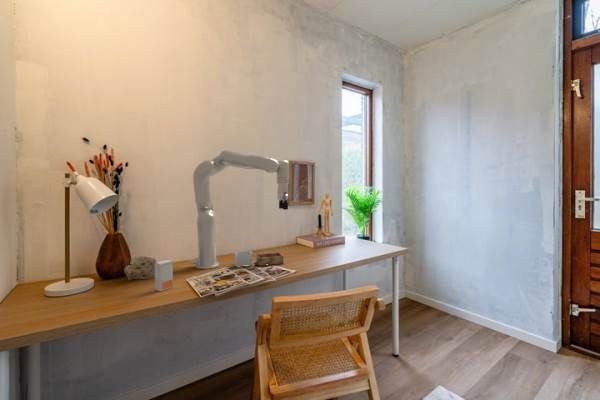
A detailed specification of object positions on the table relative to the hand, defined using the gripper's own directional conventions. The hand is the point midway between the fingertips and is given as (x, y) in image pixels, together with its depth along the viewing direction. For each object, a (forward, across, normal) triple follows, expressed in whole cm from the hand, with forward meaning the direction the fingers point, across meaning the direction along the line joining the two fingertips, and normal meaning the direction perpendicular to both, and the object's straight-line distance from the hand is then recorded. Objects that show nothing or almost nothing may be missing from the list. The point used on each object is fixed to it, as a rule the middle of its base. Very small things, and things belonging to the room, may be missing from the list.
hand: (283, 208), depth 168 cm
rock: (+32, +6, -77) cm, 83 cm away
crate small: (+31, +5, -25) cm, 40 cm away
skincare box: (+31, +32, -62) cm, 77 cm away
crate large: (+31, +5, -10) cm, 33 cm away
